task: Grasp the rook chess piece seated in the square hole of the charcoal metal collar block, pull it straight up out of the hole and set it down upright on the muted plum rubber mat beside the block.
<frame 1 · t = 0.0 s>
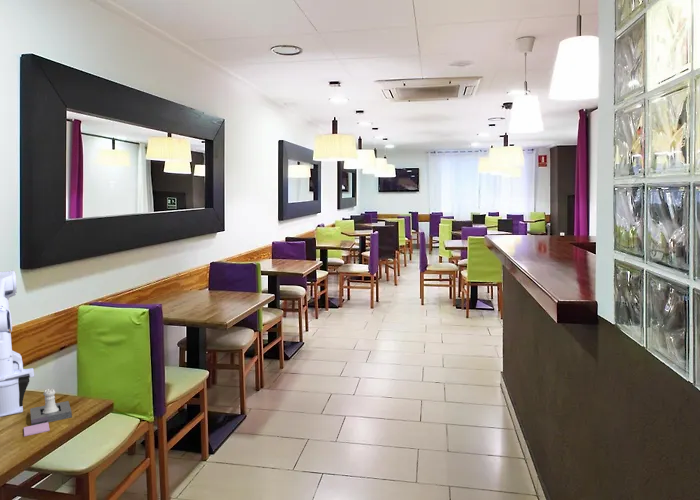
hand: (3, 408, 133), 10 cm above the table, tool pointing down, fingers open, 7 cm apart
rook chess piece: (51, 416, 153), on the table
socket block: (51, 415, 153), on the table
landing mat: (36, 429, 144), on the table
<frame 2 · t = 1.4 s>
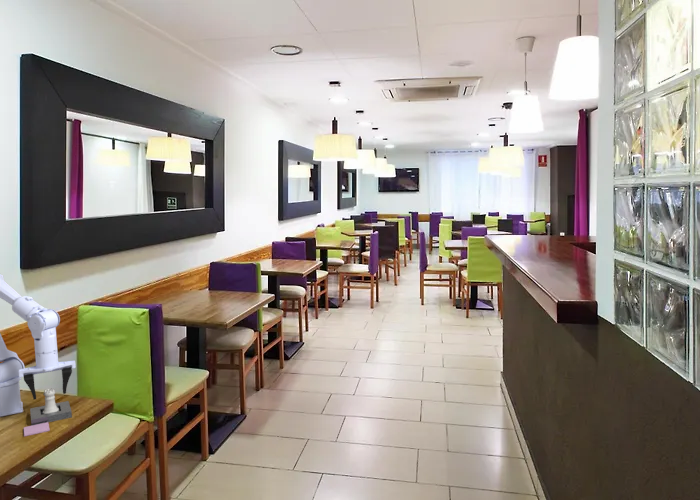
hand: (49, 395, 153), 6 cm above the table, tool pointing down, fingers open, 7 cm apart
nothing on the table moved.
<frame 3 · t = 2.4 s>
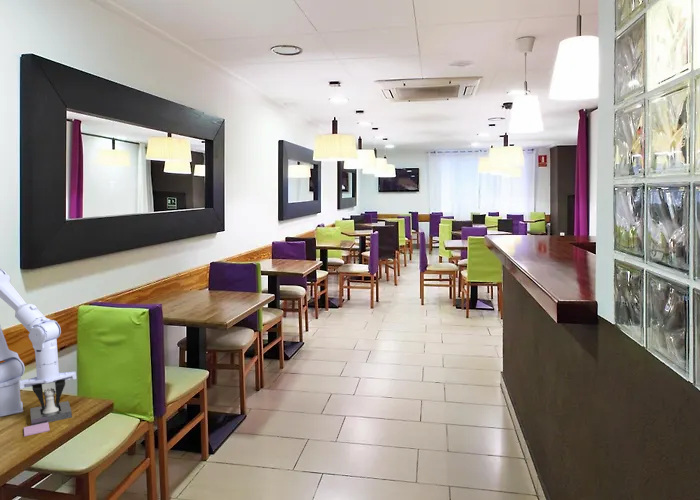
hand: (50, 406, 153), 3 cm above the table, tool pointing down, fingers closed on rook chess piece, 3 cm apart
rook chess piece: (51, 416, 153), on the table, touching gripper
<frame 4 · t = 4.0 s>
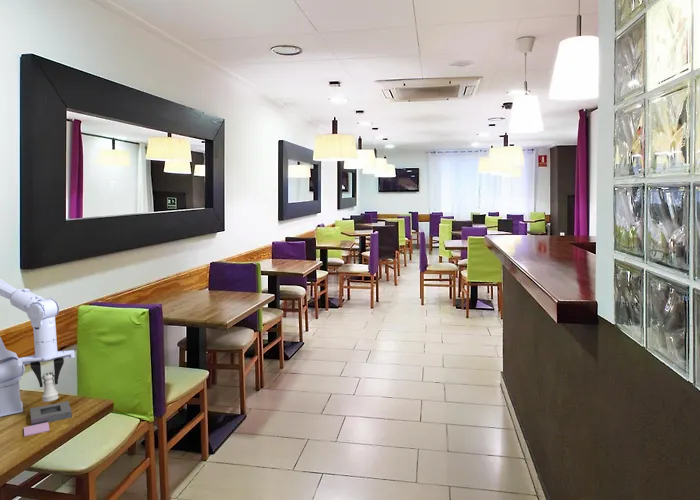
hand: (48, 384, 153), 10 cm above the table, tool pointing down, fingers closed on rook chess piece, 3 cm apart
rook chess piece: (50, 400, 153), point 5 cm above the table, touching gripper
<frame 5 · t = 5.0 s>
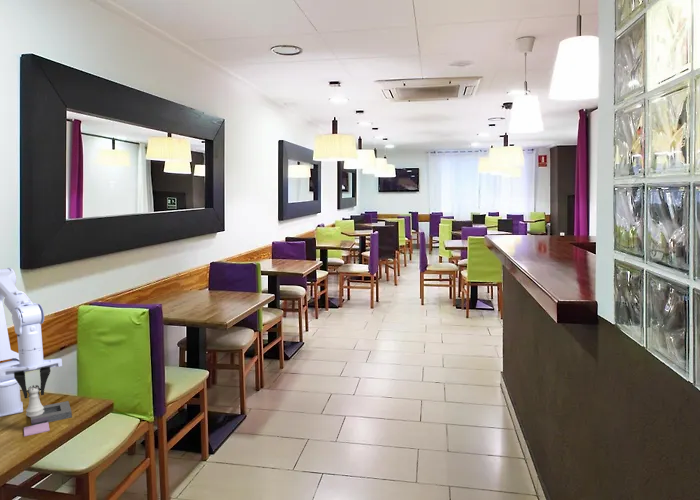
hand: (34, 395, 143), 10 cm above the table, tool pointing down, fingers closed on rook chess piece, 3 cm apart
rook chess piece: (35, 414, 144), point 4 cm above the table, touching gripper
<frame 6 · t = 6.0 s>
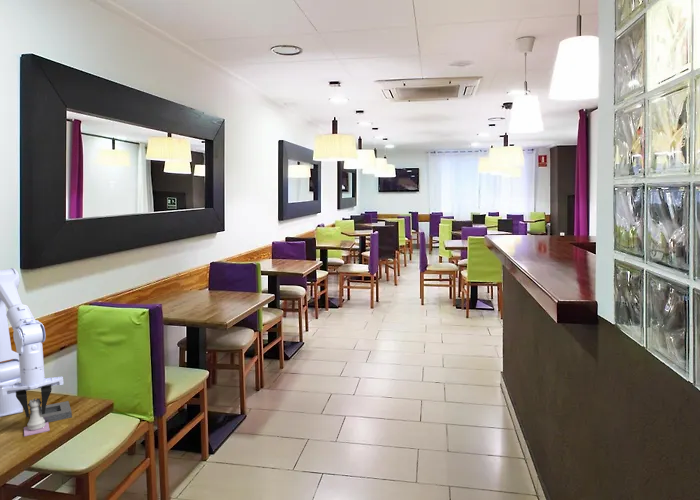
hand: (35, 414, 143), 4 cm above the table, tool pointing down, fingers closed on rook chess piece, 3 cm apart
rook chess piece: (36, 428, 144), on the table, touching gripper, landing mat
when the fingers open (4 cm above the table, at t = 6.4 s): rook chess piece stays where it is, resting on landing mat.
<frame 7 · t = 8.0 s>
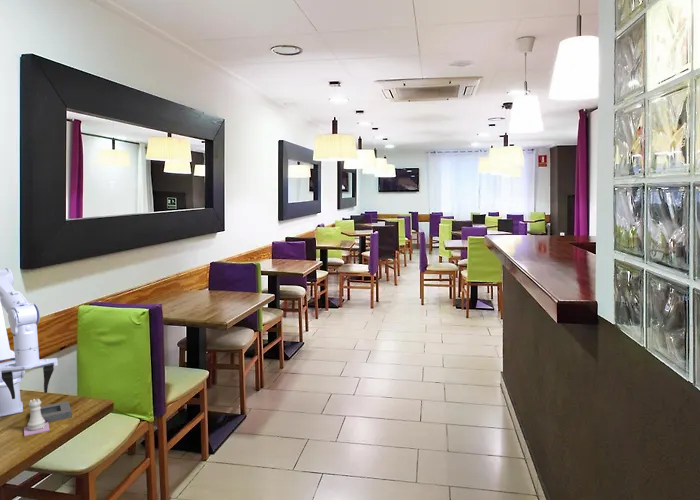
hand: (29, 394, 144), 10 cm above the table, tool pointing down, fingers open, 7 cm apart
rook chess piece: (36, 428, 144), resting on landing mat
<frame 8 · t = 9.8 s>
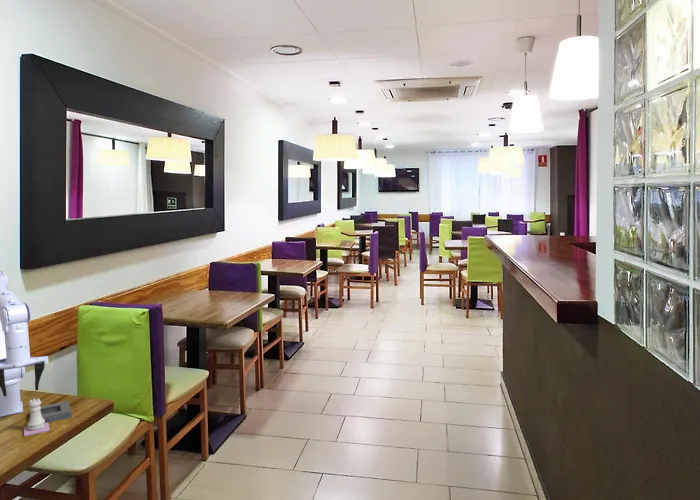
hand: (21, 392, 147), 9 cm above the table, tool pointing down, fingers open, 7 cm apart
nothing on the table moved.
at the end: rook chess piece 0.5 cm off-centre on the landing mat, point 0.2 cm above the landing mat's base; rook chess piece tilted 0°; the gripper is holding nothing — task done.
